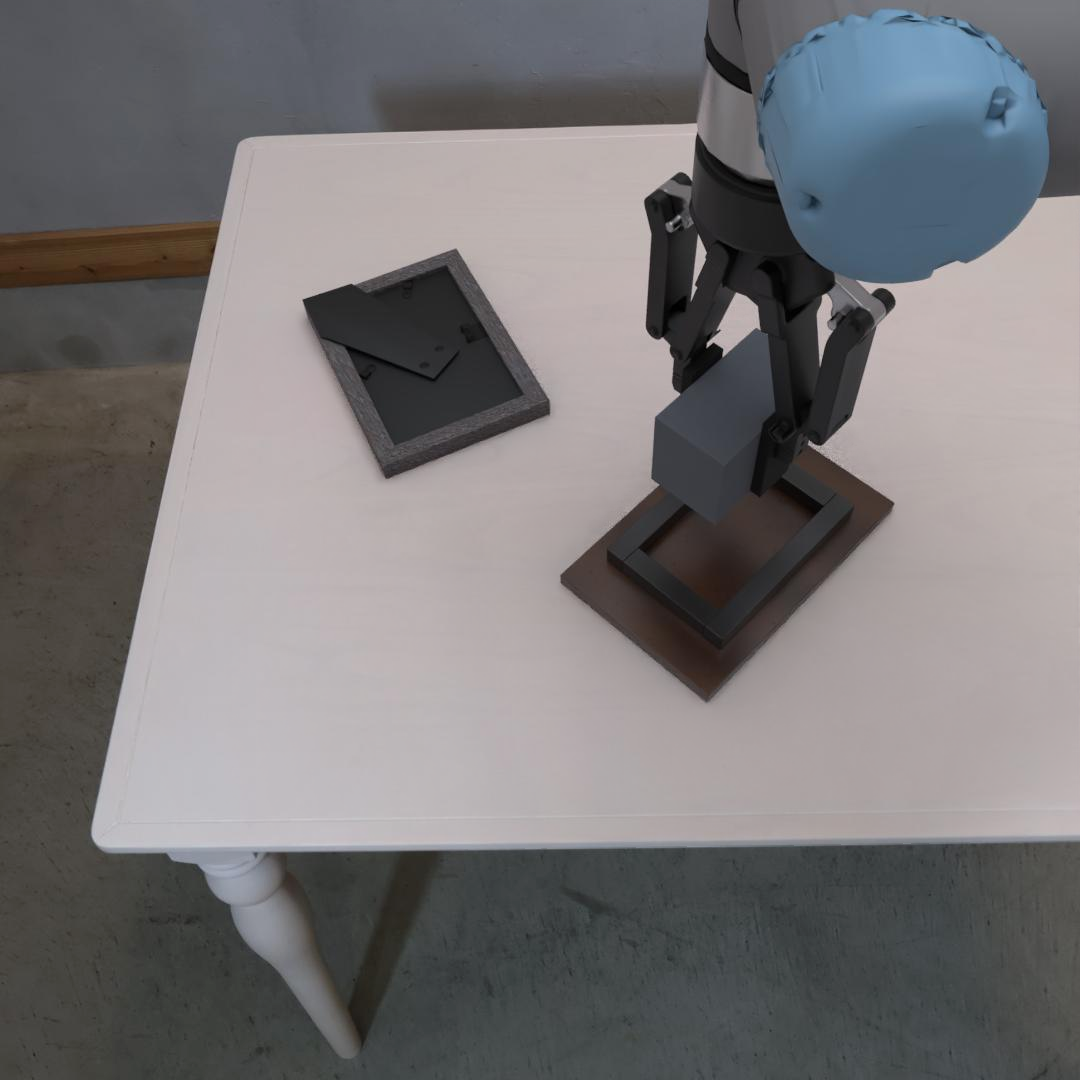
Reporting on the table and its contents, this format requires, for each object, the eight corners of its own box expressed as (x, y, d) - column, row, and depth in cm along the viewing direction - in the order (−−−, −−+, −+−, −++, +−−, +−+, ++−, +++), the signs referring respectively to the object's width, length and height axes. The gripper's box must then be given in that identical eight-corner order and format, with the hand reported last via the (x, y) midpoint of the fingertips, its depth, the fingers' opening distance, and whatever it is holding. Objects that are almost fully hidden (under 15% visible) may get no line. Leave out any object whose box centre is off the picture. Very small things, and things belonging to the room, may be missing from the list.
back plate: (746, 412, 84) (749, 390, 82) (892, 510, 79) (900, 490, 77) (560, 582, 77) (559, 563, 75) (707, 702, 72) (710, 686, 70)
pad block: (745, 392, 71) (756, 327, 66) (809, 435, 69) (825, 370, 64) (650, 478, 68) (654, 416, 63) (715, 526, 66) (724, 466, 61)
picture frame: (307, 317, 91) (386, 478, 82) (302, 299, 90) (381, 462, 81) (458, 262, 94) (550, 413, 85) (455, 244, 92) (549, 396, 83)
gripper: (1016, 182, 46) (892, 499, 66) (680, 12, 53) (659, 344, 73) (910, 281, 44) (814, 581, 63) (571, 89, 51) (580, 411, 71)
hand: (731, 453), depth 68 cm, fingers closed on pad block, 5 cm apart
